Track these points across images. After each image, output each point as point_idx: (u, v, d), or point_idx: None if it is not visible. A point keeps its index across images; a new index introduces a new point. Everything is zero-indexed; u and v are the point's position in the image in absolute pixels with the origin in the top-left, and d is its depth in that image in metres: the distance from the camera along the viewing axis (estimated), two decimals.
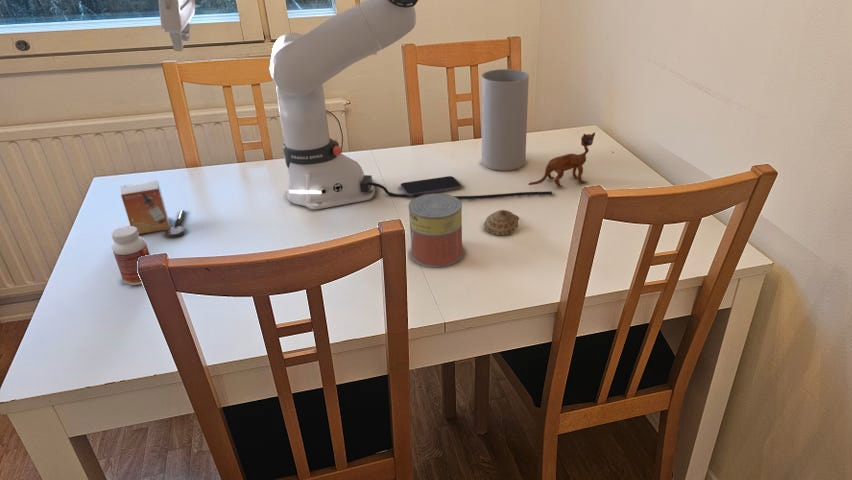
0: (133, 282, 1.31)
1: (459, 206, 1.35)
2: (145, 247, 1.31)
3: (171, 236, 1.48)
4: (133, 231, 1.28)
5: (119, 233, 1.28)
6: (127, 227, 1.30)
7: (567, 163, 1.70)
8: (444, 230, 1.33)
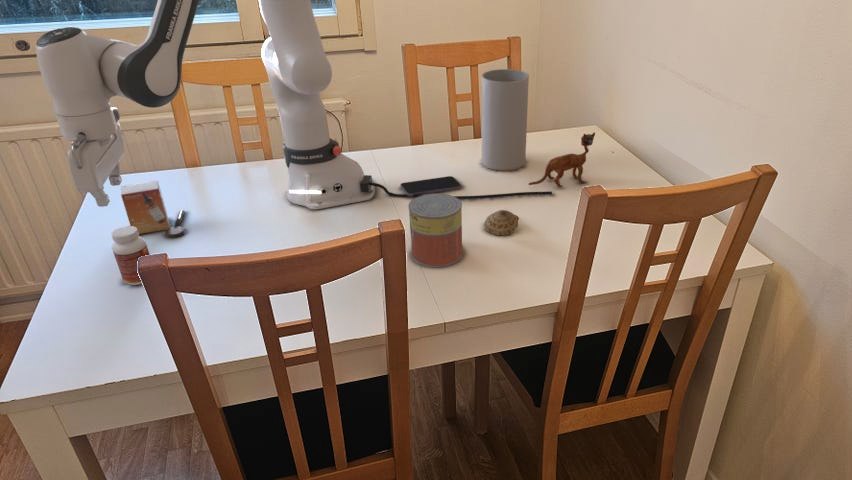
0: (133, 282, 1.31)
1: (459, 206, 1.35)
2: (145, 247, 1.31)
3: (171, 236, 1.48)
4: (133, 231, 1.28)
5: (119, 232, 1.28)
6: (127, 227, 1.30)
7: (567, 163, 1.70)
8: (444, 230, 1.33)
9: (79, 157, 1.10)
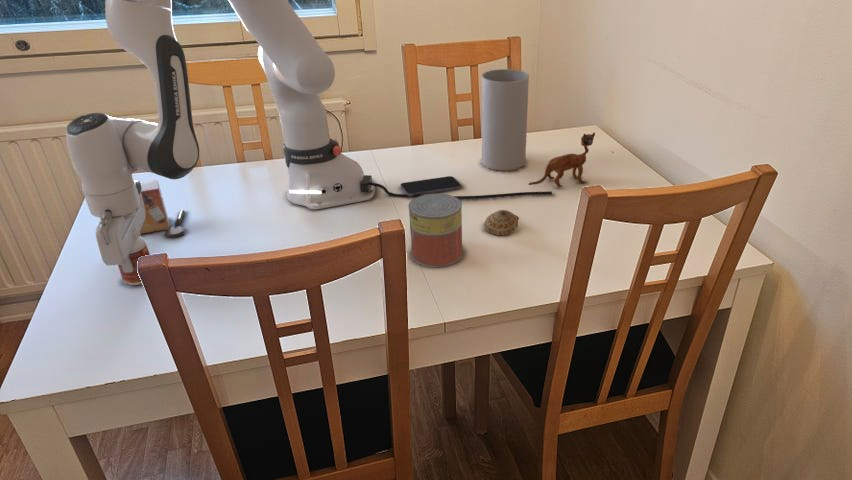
0: (133, 282, 1.31)
1: (459, 206, 1.35)
2: (145, 247, 1.31)
3: (171, 236, 1.48)
4: (133, 231, 1.28)
5: None
6: None
7: (567, 163, 1.70)
8: (444, 230, 1.33)
9: (107, 234, 1.18)
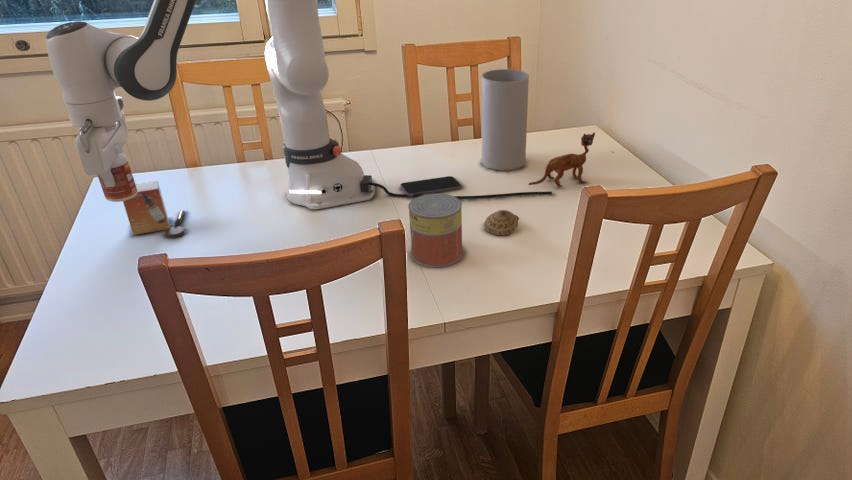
0: (115, 198, 1.31)
1: (459, 206, 1.35)
2: (127, 163, 1.31)
3: (171, 236, 1.48)
4: (114, 146, 1.29)
5: None
6: None
7: (567, 163, 1.70)
8: (444, 230, 1.33)
9: (87, 142, 1.19)
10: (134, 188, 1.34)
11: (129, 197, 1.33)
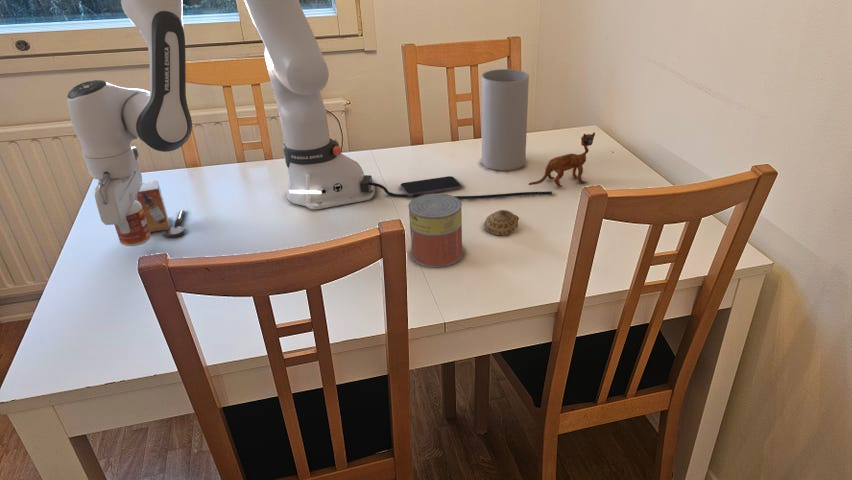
0: (130, 243, 1.38)
1: (459, 206, 1.35)
2: (141, 210, 1.38)
3: (171, 236, 1.48)
4: (130, 194, 1.35)
5: None
6: None
7: (567, 163, 1.70)
8: (444, 230, 1.33)
9: (105, 194, 1.25)
10: (148, 233, 1.40)
11: (143, 242, 1.39)
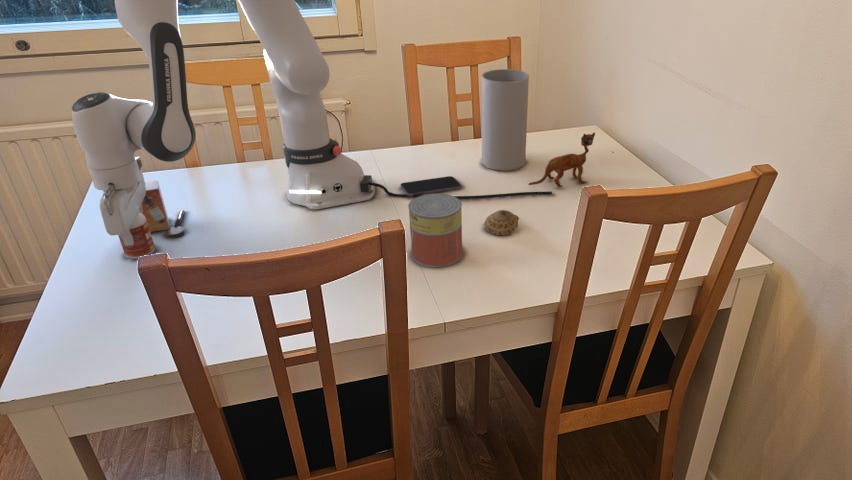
0: (134, 256, 1.40)
1: (459, 206, 1.35)
2: (145, 223, 1.39)
3: (171, 236, 1.48)
4: None
5: None
6: None
7: (567, 163, 1.70)
8: (444, 229, 1.33)
9: (110, 205, 1.26)
10: (152, 245, 1.42)
11: (147, 254, 1.41)
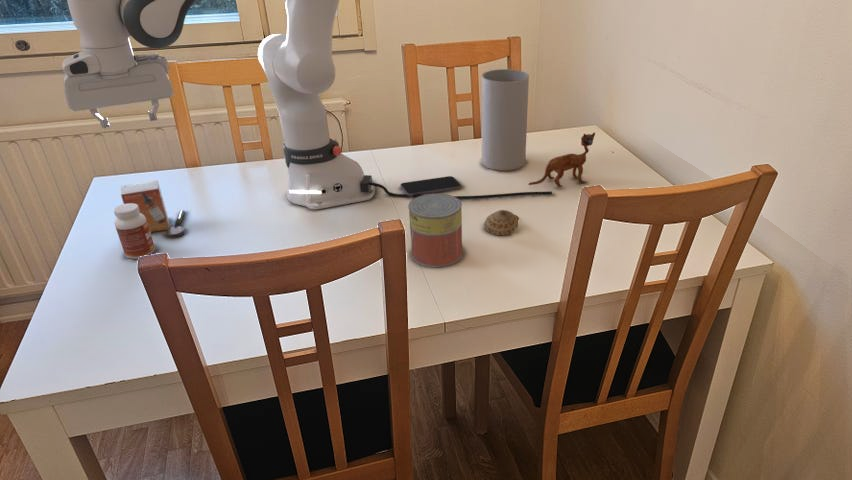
0: (134, 256, 1.40)
1: (459, 206, 1.35)
2: (145, 223, 1.39)
3: (171, 236, 1.48)
4: (134, 208, 1.37)
5: (121, 209, 1.36)
6: (129, 204, 1.39)
7: (567, 163, 1.70)
8: (444, 230, 1.33)
9: None
10: (152, 245, 1.42)
11: (147, 254, 1.41)
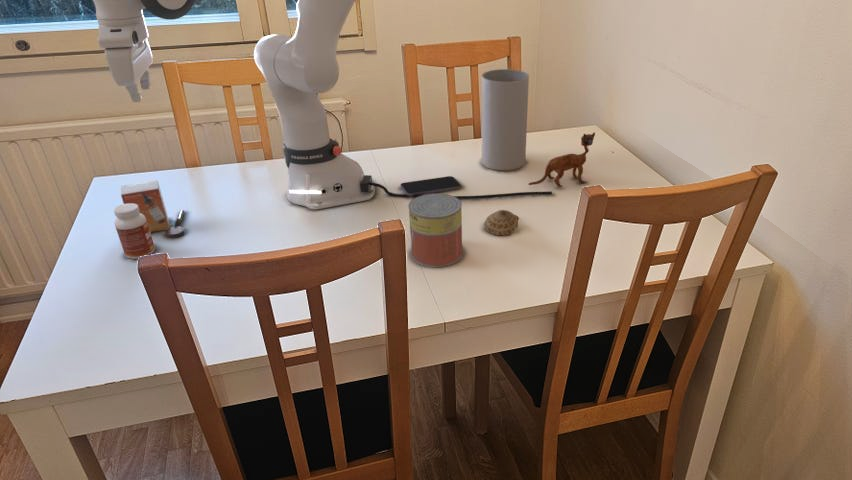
0: (134, 256, 1.40)
1: (459, 206, 1.35)
2: (145, 223, 1.39)
3: (171, 236, 1.48)
4: (134, 208, 1.37)
5: (121, 209, 1.36)
6: (129, 204, 1.39)
7: (567, 163, 1.70)
8: (444, 230, 1.33)
9: None
10: (152, 245, 1.42)
11: (147, 254, 1.41)
